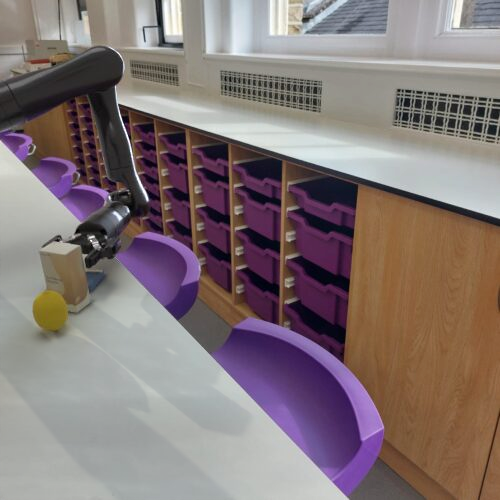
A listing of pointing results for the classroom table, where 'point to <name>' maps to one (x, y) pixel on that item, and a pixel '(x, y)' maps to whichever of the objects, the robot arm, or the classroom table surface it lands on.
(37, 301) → the lemon
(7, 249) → the classroom table surface
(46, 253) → the cosmetic box
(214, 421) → the classroom table surface
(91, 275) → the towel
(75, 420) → the classroom table surface
